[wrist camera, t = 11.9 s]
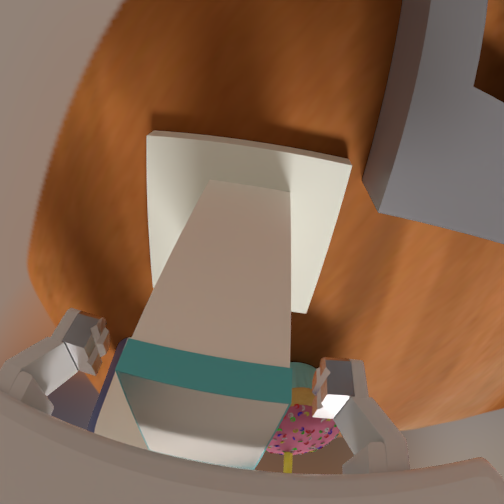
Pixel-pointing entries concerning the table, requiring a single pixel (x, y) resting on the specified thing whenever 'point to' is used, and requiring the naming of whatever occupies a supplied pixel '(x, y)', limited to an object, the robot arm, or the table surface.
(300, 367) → the cupcake
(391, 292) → the table surface
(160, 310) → the plug
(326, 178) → the mat
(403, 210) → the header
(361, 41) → the table surface
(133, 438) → the water bottle
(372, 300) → the table surface
